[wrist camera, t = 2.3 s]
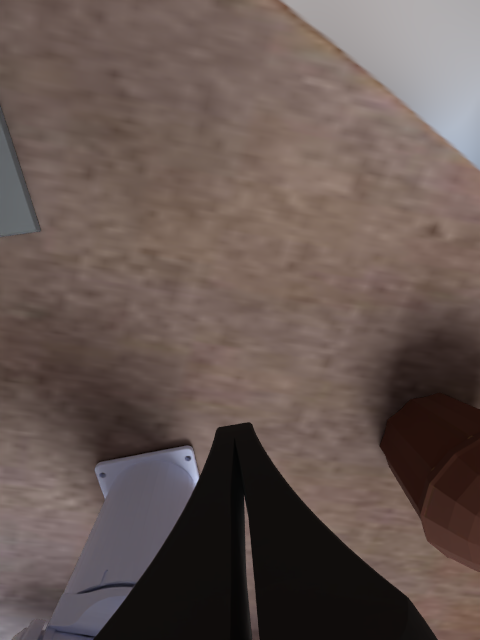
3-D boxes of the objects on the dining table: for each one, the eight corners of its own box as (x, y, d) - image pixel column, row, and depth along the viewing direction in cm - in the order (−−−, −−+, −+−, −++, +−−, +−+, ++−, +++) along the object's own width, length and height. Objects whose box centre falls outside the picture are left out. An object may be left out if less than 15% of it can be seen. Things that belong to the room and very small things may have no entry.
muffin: (502, 430, 25) (684, 541, 15) (415, 503, 26) (532, 648, 17) (435, 353, 22) (607, 430, 12) (341, 440, 23) (430, 570, 14)
